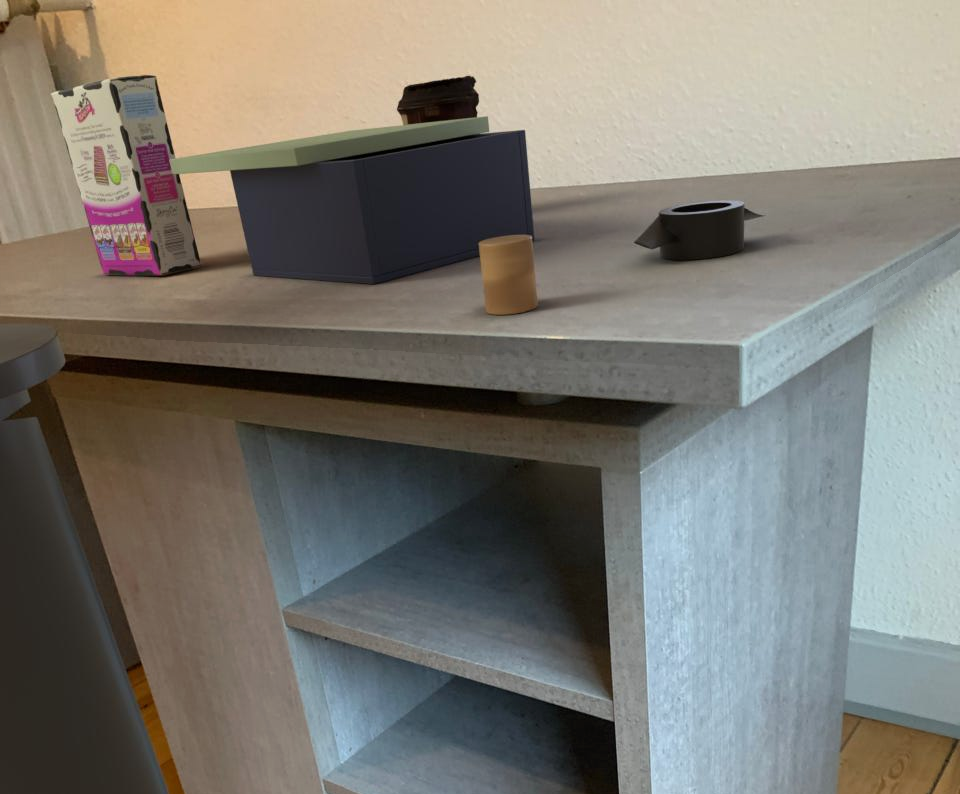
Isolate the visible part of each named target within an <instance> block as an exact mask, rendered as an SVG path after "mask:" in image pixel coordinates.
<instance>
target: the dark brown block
mask: <svg viewBox="0 0 960 794" xmlns="http://www.w3.org/2000/svg"><path fill="white" fill-rule="evenodd" d="M476 83H477V79H476V78H475V76H472V75H465V76H461V77H460V76H458V77H451V78H443V79H437V80H432V81H427V82H420V83H414V84H408V85H406V86H404V87H403V91H402V95H401V99H400V100H399V101H398V103H397V107H396V111H397V113H398V114H399V116H400V117H401V121H402V125H409V124H419V123H428V122H438V121H447V120H457V119H466V118H476V117H478V109H477V107H478V106H479V103H480V95H479V93H478V92H477V90H476V89H475V87H476V86H475V85H476Z"/></svg>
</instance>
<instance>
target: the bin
mask: <svg viewBox="0 0 960 794" xmlns="http://www.w3.org/2000/svg"><path fill="white" fill-rule="evenodd" d="M527 146H528V145H527V136H526V130H525V129H519V130H507V131H506V130H505V131H496V132H495V131H494V132H486V133H480V134H475V135H469V136H463V137H458V138H452V139H446V140H441V141H435V142H430V143H424V144H418V145H413V146H407V147H401V148H396V149H390V150H384V151H379V152H373V153H367V154H362V155H356V156H351V157H345V158H339V159H334V160H328V161H322V162H317V163H311V164H305V165H300V166H288V167H274V168H259V169H244V170H230V171H229V173H230V177H231V182H232V186H233V191H234V195H235V199H236V203H237V204H236V205H237V208H238V213H239V218H240V222H241V226H242V232H243V236H244V240H245V244H246V249H247V254H248V258H249V263H250V267H251V270H252V276H257V277H269V278H271V277H272V278H282V279H283V278H285V279H287V278H288V279H299V280H311V281H312V280H313V281H324V282H325V281H326V282H339V283H353V284H367V285H376V284H377V285H378V284H380V283H385V282H388V281H391V280H396V279H399V278H402V277H405V276H410V275H414V274H416V273H421V272H424V271H428V270H431V269H435V268H439V267H443V266H446V265H450V264H454V263H457V262H461V261H465V260H468V259H472V258H476V257H480V253H479V242H481V241H483V240H486V239H490V238H495V237H501V236H509V235H530V236H532V242H535V239H536V237H535V228H534V227H535V226H534V215H533V204H532V194H531V193H532V192H531V183H530V182H531V181H530V171H529V159H528V147H527Z"/></svg>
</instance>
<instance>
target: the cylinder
mask: <svg viewBox="0 0 960 794" xmlns="http://www.w3.org/2000/svg"><path fill="white" fill-rule="evenodd" d="M479 253H480V256H479V262H480V270H481V271H480V272H481V279H482V287H483V296H484V305H485V312H486V314H488V315H492V316H493V315H494V316H497V315H498V316H504V315H505V316H506V315H515V314H521V313H526V312H530V311H532V310H535V309H536V308H537V307H538V306H539V302H538V290H537V280H536V279H537V277H536V268H535V266H536V265H535V256H534V245H533V241H532V236H530V235H509V236H501V237H495V238H490V239H486V240H483V241H481V242H479Z"/></svg>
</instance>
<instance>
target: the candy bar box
mask: <svg viewBox="0 0 960 794" xmlns="http://www.w3.org/2000/svg"><path fill="white" fill-rule="evenodd" d="M157 79H158V78H157V75H152V74H142V75H129V76H119V77H111V78H107V79H106V78H105V79H103V80H98V81H94V82H90V83H86V84H83V85H82V84H81V85H78V86H74V87H68V88H64V89H61V90H57V91H53V92H52V93H50V95H51V98H52V100H53V104H54V107H55V111H56V114H57V115H56V116H57V117H58V118H57V119H58V120H59V124H60V128H61V132H62V135H63V138H64V141H65V146H66V150H67V153H68V156H69V159H70V163H71V167H72V169H73V174H74V177H75V181H76V184H77V187H78V190H79V195H80V198H81V202H82V205H83V208H84V211H85V215H86V218H87V222H88V226H89V229H90V233H91V236H92V239H93V243H94V247H95V250H96V254H97V257H98V261H99V264H100V267H101V271H102V274H103V275H105V276H137V277H138V276H142V277H143V276H146V277H147V276H148V277H149V276H150V277H152V276H153V277H156V276H157V277H158V276H159V277H163V276H167V275H171V274H172V275H173V274H177V273H179V272H185V271H188V270H194V269H197V268H199V267H201V266H202V262H201V258H200V254H199V250H198V245H197V242H196V238H195V234H194V229H193V225H192V220H191V217H190V213H189V208H188V205H187V200H186V197H185V193H184V188H183V184H182V180H181V176H180V174H173V173H172V169H171V165H170V161H169V159H175V158H176V154H175V150H174V146H173V141H172V138H171V134H170V130H169V125H168V122H167V117H166V113H165V108H164V105H163V101H162V97H161V92H160V88H159V84H158V80H157Z"/></svg>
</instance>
